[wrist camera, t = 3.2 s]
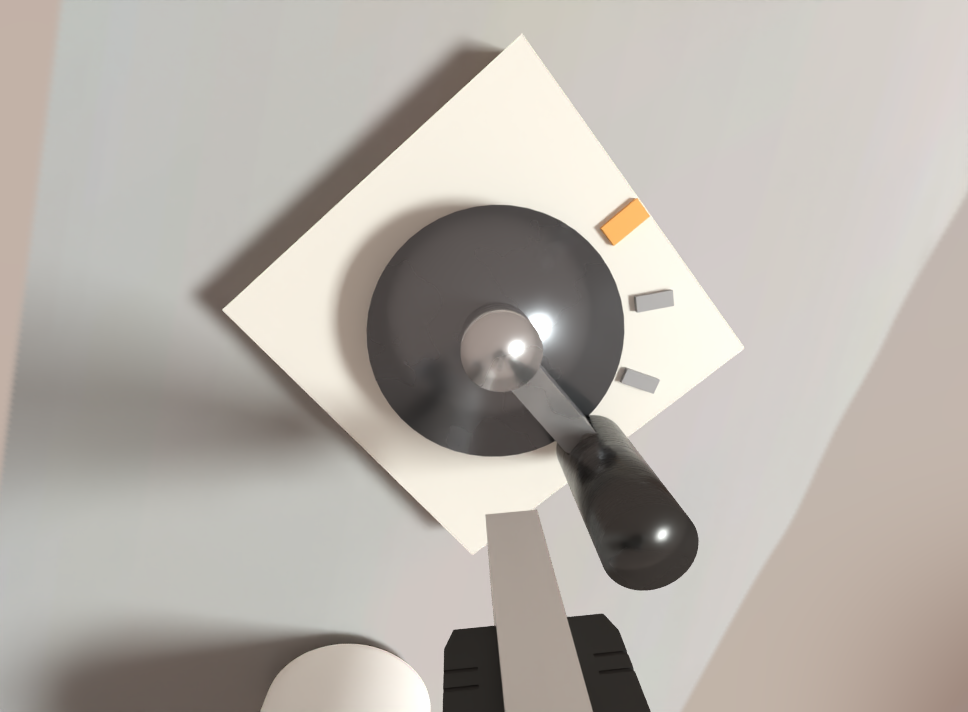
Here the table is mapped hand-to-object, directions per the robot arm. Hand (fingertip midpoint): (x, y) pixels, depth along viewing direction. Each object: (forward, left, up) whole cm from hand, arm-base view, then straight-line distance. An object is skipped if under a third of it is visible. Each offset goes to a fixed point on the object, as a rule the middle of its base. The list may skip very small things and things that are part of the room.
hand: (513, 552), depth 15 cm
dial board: (+3, +4, -8) cm, 10 cm away
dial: (+3, +3, -6) cm, 7 cm away
